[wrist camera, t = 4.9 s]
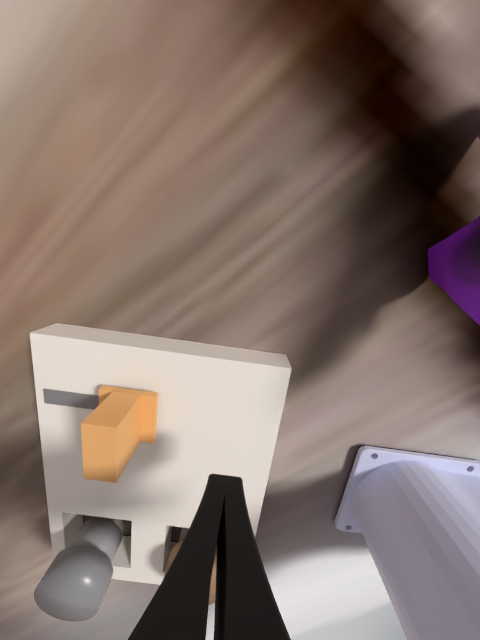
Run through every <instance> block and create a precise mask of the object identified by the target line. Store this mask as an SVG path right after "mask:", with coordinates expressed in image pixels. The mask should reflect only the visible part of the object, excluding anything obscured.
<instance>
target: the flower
mask: <svg viewBox="0 0 480 640" xmlns="http://www.w3.org/2000/svg"><path fill="white" fill-rule="evenodd" d="M478 138H480V136H479V137H478ZM428 267H429V276H430V279H431V280H432V281H433V282H435V283H436V284H437V285H439V286H440V287H441V288H443V289H444V290H445V291H446V293H447V294H448V295H449V296H450V297H451V299H452V300H453V301H454V302H455V303H456V304H457V305H459V306H460V307H461V308H462V309H463V310H464V311H465V312H466V313H467V314H468V315H469V316H470V317H471V318H472V319H473V320H474V321H475V322H477V323H478V324H479V325H480V216H479V217H478V218H477V219H475V220H474V221H472V222H471V223H469V224H468V225H466V226H465V227H463V228H461V229H460V230H458V231H457V232H455V233H454V234H452V235H450V236H449V237H447V238H446V239H444V240H442V241H441V242H439V243H437V244H436V245H434V246H432V247H431V248H429V249H428Z"/></svg>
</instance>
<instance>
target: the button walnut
mask: <svg viewBox="0 0 480 640" xmlns="http://www.w3.org/2000/svg"><path fill="white" fill-rule="evenodd" d="M188 530H189V528H184V527H182V529H181V533H180V537H179V542H178V543H177V544H176V545H175V546H174V547H173V548H172V550H171V552H170V556H169V560H168V564H167V567H166V571H165V575H164V577H165V576H166V574H167V572H168V570H169V568H170V566H171V564H172V562H173V561H174V559H175V557H176V555H177V553H178V551H179V549H180V547H181V545H182V543H183V541H184V539H185V537H186V535H187V532H188ZM216 561H217V547H216V553H215V558H214V564H213V570H212V576H211V584H210V595H209V605H210V604H212V603H214V602H215V593H216Z"/></svg>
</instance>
